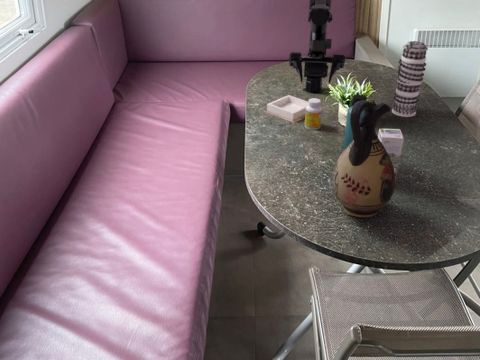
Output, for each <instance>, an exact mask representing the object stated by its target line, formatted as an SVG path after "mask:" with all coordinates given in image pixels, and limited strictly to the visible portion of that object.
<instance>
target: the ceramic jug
mask: <svg viewBox="0 0 480 360" xmlns="http://www.w3.org/2000/svg"><path fill="white" fill-rule="evenodd" d="M352 106H353V107H352V111H351V116H350V124H351V129H352V134H353V141H352V142H351V143H350V145H349V146H348V147H347V148H346V149H345V150H344V152H343V151H342V153H341V154H340V156H339V157H338V159H337V161H336V163H335V165H334V167H333V170H332V171H333V172H332V175H331V176H332V177H331V186H332V190H333V193H334V196H335V197H336V199H337V201H339V203H340V204H341V205H342V208H343V210H344V212H345V214H347V215H349V216H352V217H357V218H372V217H375V216H376V215H378V214H380V212H381V210H380V209H382V208H383V207H384V206H386V204H387V203H388V202H389V201H390V200H391V198H392V197H393V195H394V192H395V189H396V181H395V172H394V167H393V164H392V161H391V159H390V157H389V155H388V153H387V151H386V149H385V147H384V146H383V144H382V143H381V141H380V140H379V138H378V135H377V132H376V126H377V122H378V120H380V118H381V117H382V116H384V115H385V114H387V113H389V112H391V111H392V109H391V106H389V105H387V104H386V103H384V102H381V103H378V104H377V103H376V102H375V100H373V99H371V100H370V101H369V100H368V99H367V100H361V101H358V102H356V103H355V104H352ZM362 111H364V115H363V116H362V119H361V121H360V115H361V112H362ZM360 127H362V129H360Z"/></svg>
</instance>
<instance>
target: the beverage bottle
mask: <svg viewBox="0 0 480 360" xmlns="http://www.w3.org/2000/svg"><path fill="white" fill-rule="evenodd" d="M361 100H367V101H368V97H367V95H365V94H361V93H360V94H354V95H353V96H352V100H351V104H352V105H351V106H350V107H349V108H347V111H346V119H345V120H346V121H345V127H344V135H343V136H344V137H343V138H344V139H343V146H342V148H343V149H342V153H343V152H344V150H345V149H346V148H347V147H348V146H349V145H350V143H351V142H352V141H353V134H352V129H351V124H350V116H351V111H352V107H353V105H354V104H355V103H356V102H358V101H361ZM363 115H364V111H362V112H361V115H360V121H361V119H362V116H363ZM360 129H362V127H360Z"/></svg>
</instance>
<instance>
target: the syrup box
mask: <svg viewBox="0 0 480 360" xmlns="http://www.w3.org/2000/svg"><path fill="white" fill-rule="evenodd" d="M377 136H378V138H379V140H380V141H381V143H382V144H383V146H384V147H385V149H386V151H387V153H388V155H389V157H390V159H391V161H392V164H393V167H394V172H395V182H396V180H397V174H398V170H399V164H400V161H401V154H402V150H403V145H404V135H403V132H402V131H401V129H400V128H379V130H378V135H377Z"/></svg>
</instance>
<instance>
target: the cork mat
mask: <svg viewBox="0 0 480 360" xmlns="http://www.w3.org/2000/svg"><path fill="white" fill-rule="evenodd" d="M263 112H264V113H267V114H269V115H271V116H274V117H277V118H280V119H283V120H285V121H288V122H290V123H293V124H296V123H297V122H299V121H301V120H305V116H304V117H302V118H299V119H297V120H295V121H293V122H292V121H290V120H287V119H284V118H282V117H279V116H276V115H274V114H271V113H268V112H267V109H266V110H264V111H263Z"/></svg>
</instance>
